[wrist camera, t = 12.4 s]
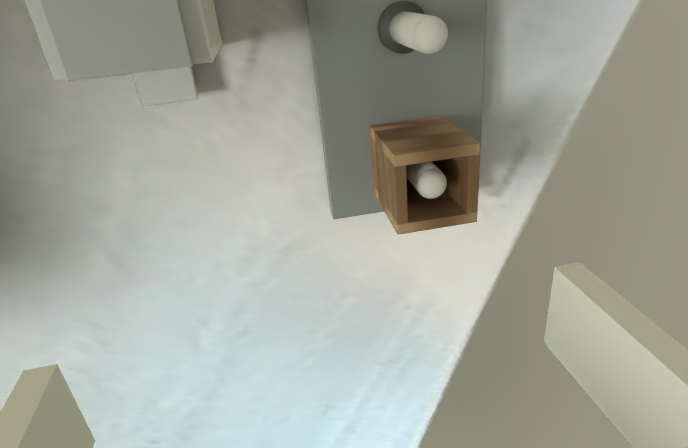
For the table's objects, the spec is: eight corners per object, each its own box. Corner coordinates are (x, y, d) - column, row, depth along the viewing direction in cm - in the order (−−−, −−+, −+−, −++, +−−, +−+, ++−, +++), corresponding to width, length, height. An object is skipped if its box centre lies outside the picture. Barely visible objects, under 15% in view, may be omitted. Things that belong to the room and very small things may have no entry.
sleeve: (374, 193, 37) (397, 234, 31) (369, 125, 35) (394, 155, 28) (440, 183, 38) (476, 221, 31) (440, 115, 35) (480, 143, 29)
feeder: (114, 105, 33) (69, 142, 25) (72, -26, 29) (5, -31, 21) (231, 90, 33) (223, 121, 26) (205, -39, 30) (187, -49, 22)
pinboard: (330, 211, 39) (348, 265, 31) (301, -39, 31) (316, -48, 23) (470, 189, 40) (520, 236, 33) (479, -57, 32) (548, -71, 24)
